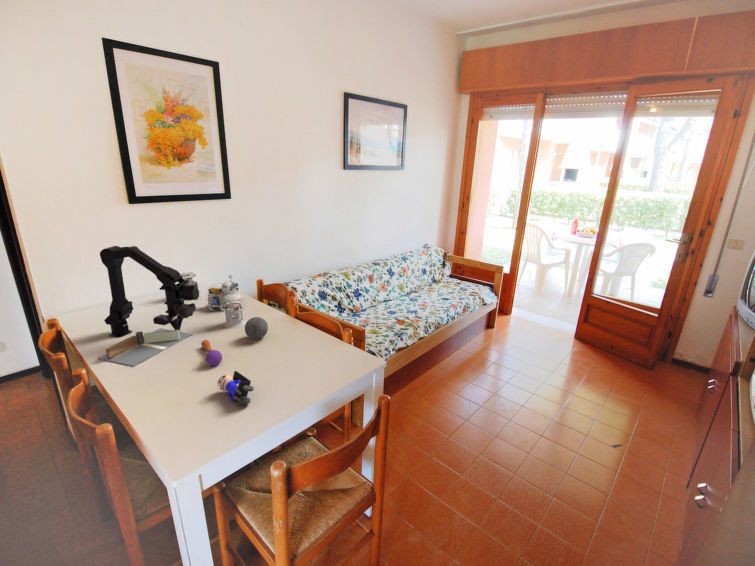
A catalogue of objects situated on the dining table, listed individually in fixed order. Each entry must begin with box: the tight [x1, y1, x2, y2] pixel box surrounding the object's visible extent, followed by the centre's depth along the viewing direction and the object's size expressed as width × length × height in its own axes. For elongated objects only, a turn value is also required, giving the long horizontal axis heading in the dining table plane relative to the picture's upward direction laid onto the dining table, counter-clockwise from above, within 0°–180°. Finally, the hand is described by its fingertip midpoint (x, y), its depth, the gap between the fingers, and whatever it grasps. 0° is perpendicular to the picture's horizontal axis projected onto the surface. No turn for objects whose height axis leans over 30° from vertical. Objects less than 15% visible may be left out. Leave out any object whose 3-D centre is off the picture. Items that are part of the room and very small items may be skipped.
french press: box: [224, 274, 247, 329], centre depth 178 cm, size 10×12×25 cm
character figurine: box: [217, 370, 254, 405], centre depth 123 cm, size 8×7×15 cm
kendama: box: [200, 339, 223, 367], centre depth 149 cm, size 6×6×20 cm
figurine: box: [180, 271, 199, 289], centre depth 209 cm, size 9×12×15 cm
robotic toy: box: [205, 280, 239, 312], centre depth 198 cm, size 13×17×15 cm
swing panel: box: [143, 329, 180, 343], centre depth 159 cm, size 2×13×4 cm, turn 109°
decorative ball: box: [244, 316, 269, 340], centre depth 165 cm, size 10×10×10 cm
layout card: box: [97, 328, 193, 368], centre depth 156 cm, size 18×30×1 cm, turn 164°
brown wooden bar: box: [105, 331, 144, 359], centre depth 150 cm, size 3×16×5 cm, turn 164°
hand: (177, 331), depth 165 cm, fingers closed
